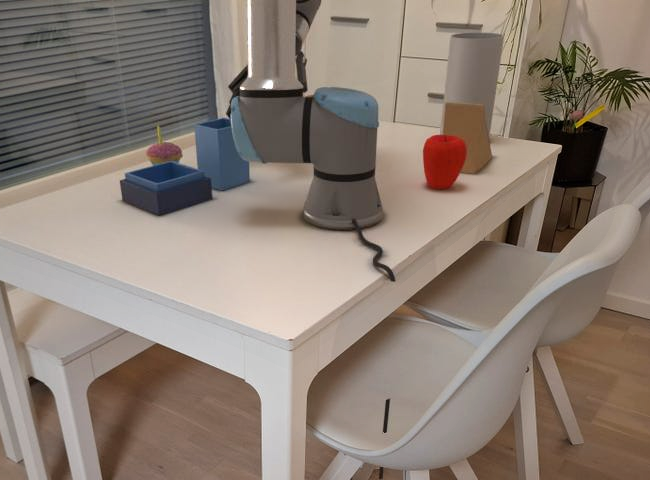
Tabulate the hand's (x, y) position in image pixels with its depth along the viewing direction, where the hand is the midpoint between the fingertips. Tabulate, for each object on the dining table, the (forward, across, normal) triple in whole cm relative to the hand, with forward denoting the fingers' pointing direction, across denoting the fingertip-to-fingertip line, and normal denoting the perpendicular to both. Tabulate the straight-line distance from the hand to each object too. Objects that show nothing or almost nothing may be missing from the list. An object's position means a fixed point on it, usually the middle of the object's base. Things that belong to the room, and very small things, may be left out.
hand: (254, 117), depth 149 cm
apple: (+1, -38, -22) cm, 44 cm away
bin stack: (+25, +9, +5) cm, 27 cm away
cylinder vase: (-29, -29, -46) cm, 62 cm away
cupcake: (+13, +22, -3) cm, 26 cm away
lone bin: (+14, +5, -5) cm, 16 cm away
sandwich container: (-14, -36, -35) cm, 52 cm away
